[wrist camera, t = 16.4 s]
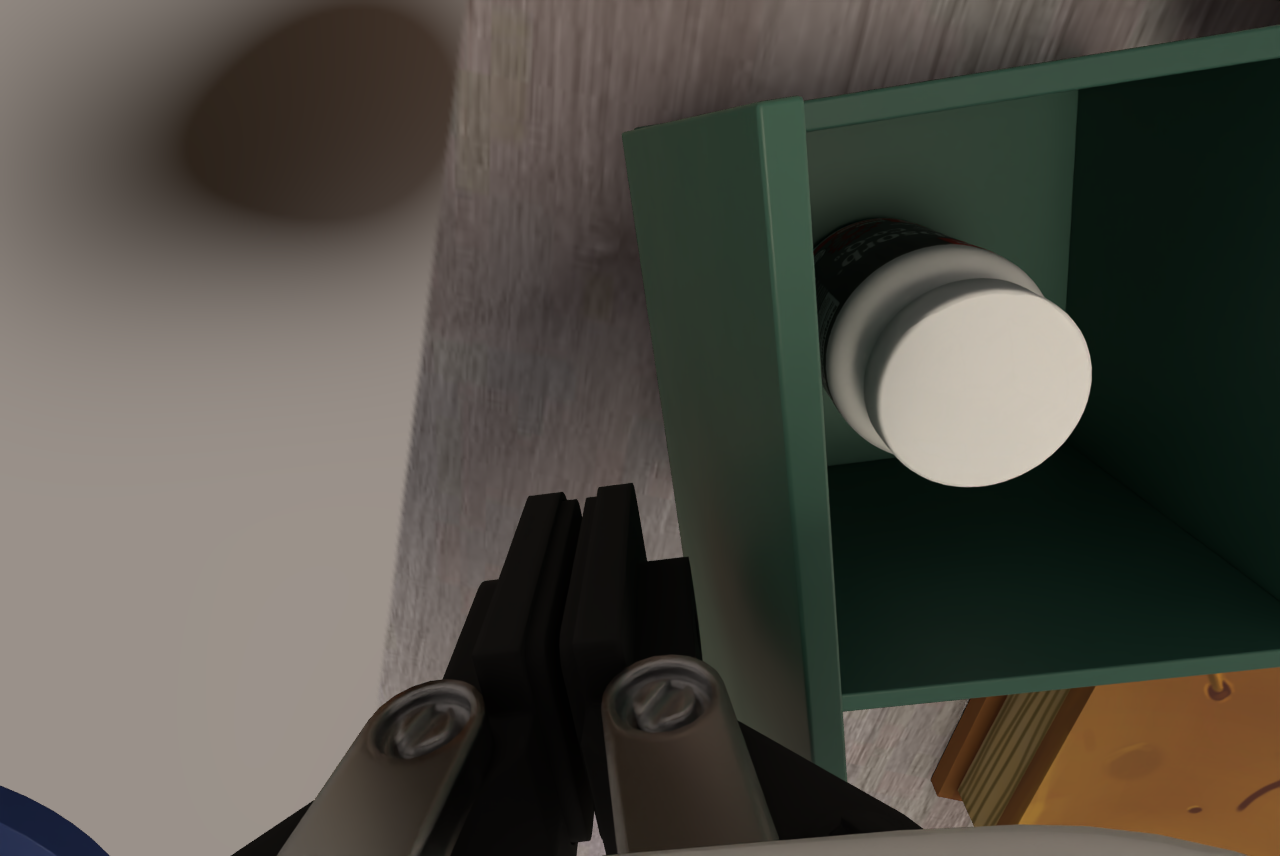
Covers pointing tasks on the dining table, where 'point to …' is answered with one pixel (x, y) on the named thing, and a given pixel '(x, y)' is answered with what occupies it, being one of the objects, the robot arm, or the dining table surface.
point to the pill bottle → (945, 353)
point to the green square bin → (1121, 375)
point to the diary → (1127, 759)
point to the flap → (745, 406)
